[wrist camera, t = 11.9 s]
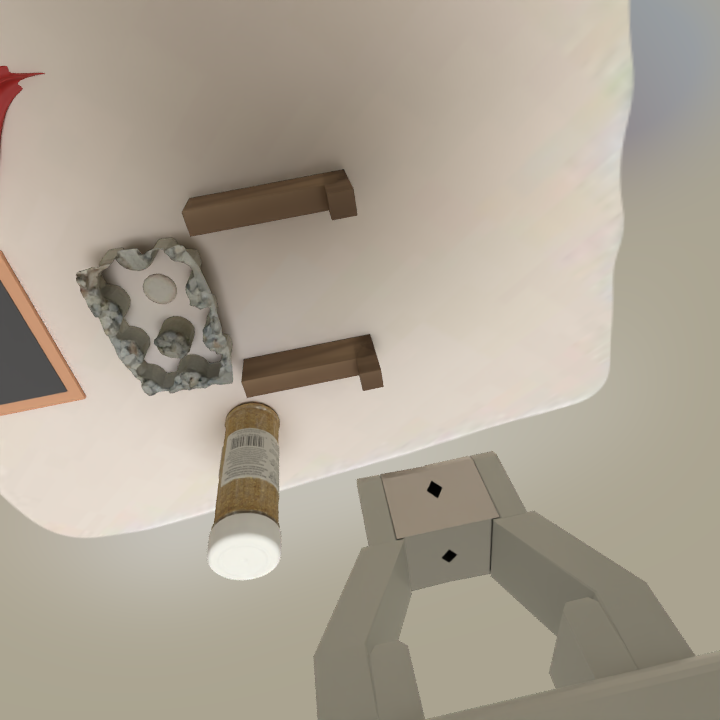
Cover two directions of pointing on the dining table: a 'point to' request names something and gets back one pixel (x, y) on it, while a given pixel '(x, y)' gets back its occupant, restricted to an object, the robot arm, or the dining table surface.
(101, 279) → the egg carton
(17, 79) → the cayenne pepper
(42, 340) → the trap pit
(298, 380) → the walled channel
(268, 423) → the sprinkles bottle
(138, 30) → the dining table surface
